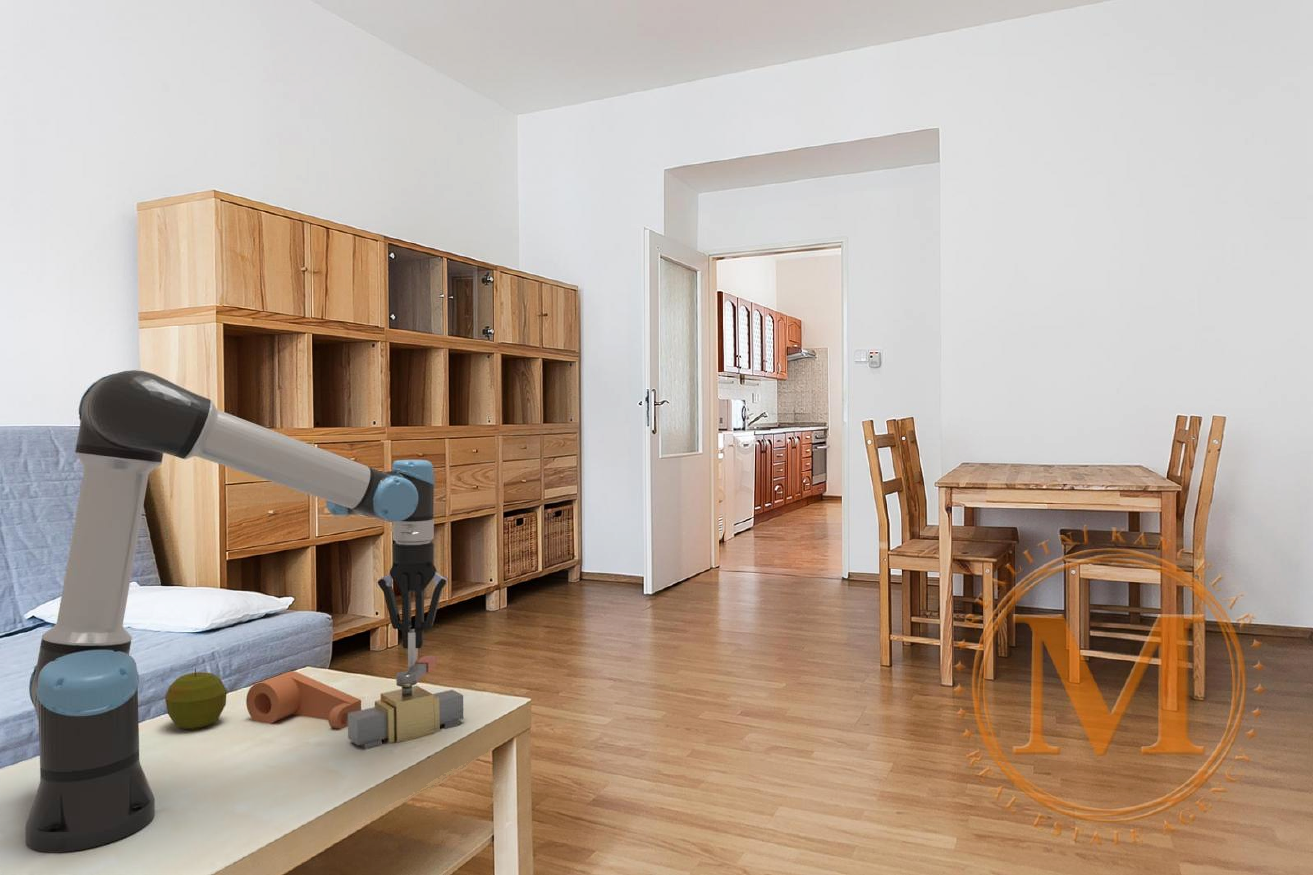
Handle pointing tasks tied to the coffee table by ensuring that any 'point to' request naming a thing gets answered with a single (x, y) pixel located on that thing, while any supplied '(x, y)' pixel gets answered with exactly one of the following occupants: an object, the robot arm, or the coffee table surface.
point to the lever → (416, 671)
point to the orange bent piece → (299, 700)
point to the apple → (195, 700)
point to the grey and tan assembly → (405, 716)
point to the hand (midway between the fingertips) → (412, 664)
